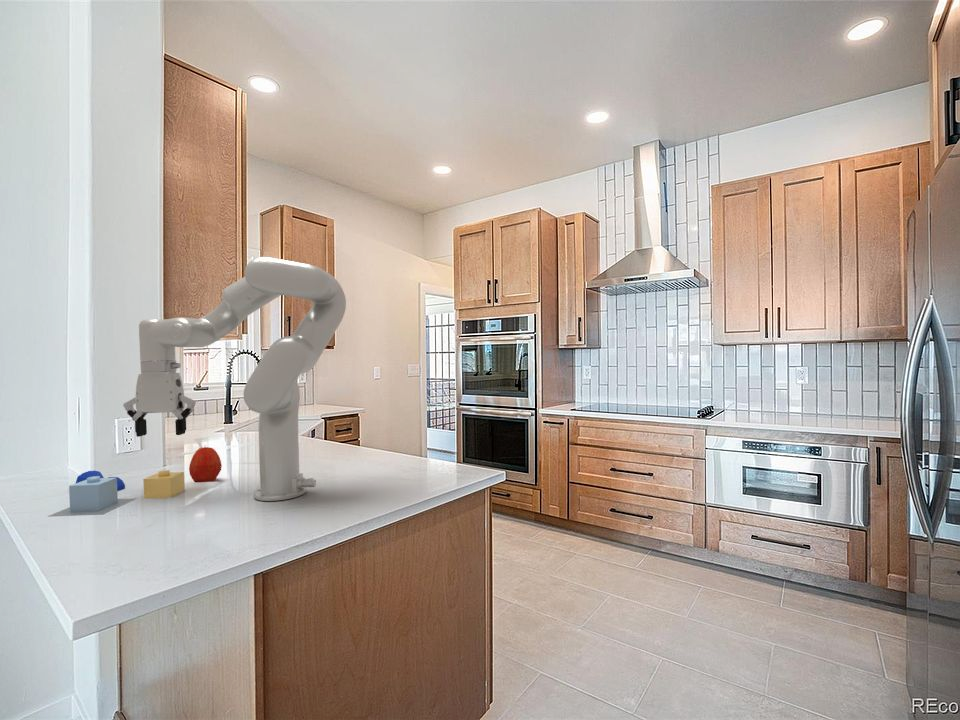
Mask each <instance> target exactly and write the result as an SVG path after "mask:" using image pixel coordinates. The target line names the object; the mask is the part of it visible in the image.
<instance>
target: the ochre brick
mask: <svg viewBox="0 0 960 720" xmlns="http://www.w3.org/2000/svg"><path fill="white" fill-rule="evenodd" d="M142 481H143V499H165V498H173V497H175V496H177V495H178V494H180V493H182V492H184V491H185V472H184V471H173V472H171V471H170V470H167V469H166V470H165V469H164V470H160V471H158V472H156V473H154V474H151V475H150V476H148V477H145V478H143V479H142Z"/></svg>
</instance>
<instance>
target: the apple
mask: <svg viewBox="0 0 960 720" xmlns="http://www.w3.org/2000/svg"><path fill="white" fill-rule="evenodd" d="M222 466H223V465H222V460H221V456H220V455H219V453H218V452H217V451H216V449H215V448H213V447H209V446H204V447H199V448H198V449H196V451H194V454H193V455H192V457H191V461H190V463H189V467H188V470H189V476H190V477H191V479H192V480H193V482H194V483H212V482H214V481H216V480H217V478H218V476H219V474H220V473H221V471H222Z"/></svg>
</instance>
